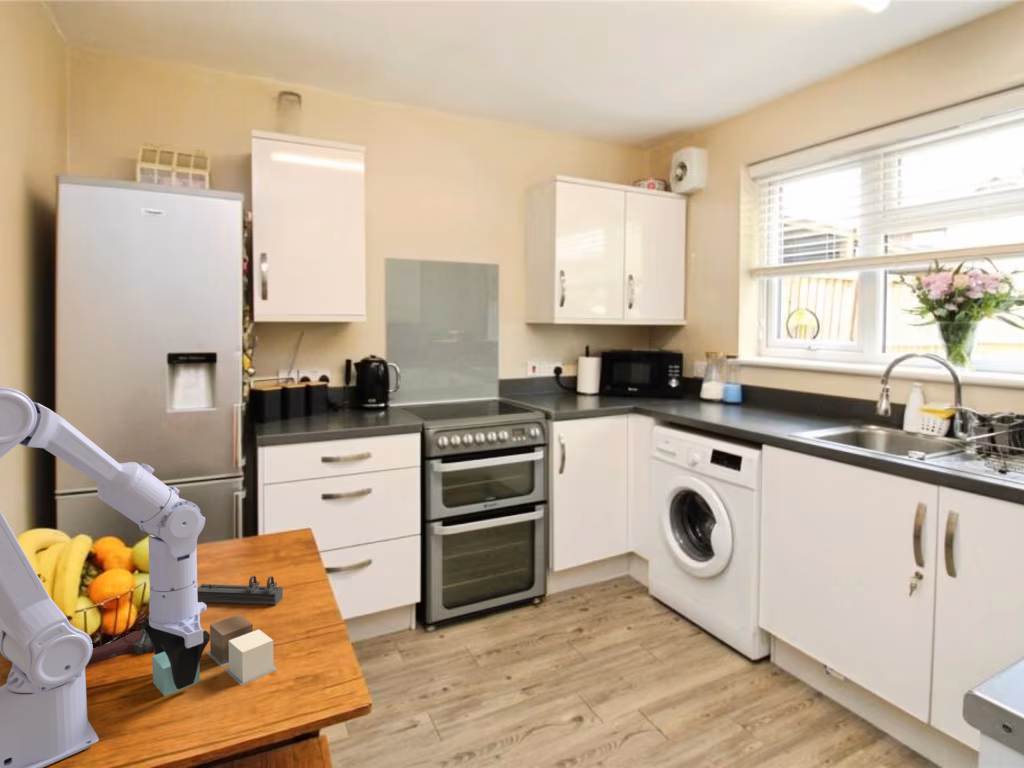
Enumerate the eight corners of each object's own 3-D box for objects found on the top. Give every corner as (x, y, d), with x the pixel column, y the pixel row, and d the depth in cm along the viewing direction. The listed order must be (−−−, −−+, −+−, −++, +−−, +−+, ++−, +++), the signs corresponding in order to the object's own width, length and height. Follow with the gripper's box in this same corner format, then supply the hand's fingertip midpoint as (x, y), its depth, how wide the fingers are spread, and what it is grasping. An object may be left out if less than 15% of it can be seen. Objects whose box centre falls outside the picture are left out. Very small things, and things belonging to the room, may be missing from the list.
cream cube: (242, 682, 82) (242, 652, 82) (229, 669, 85) (228, 640, 85) (273, 669, 85) (273, 640, 85) (259, 657, 88) (258, 629, 88)
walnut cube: (222, 664, 86) (222, 635, 86) (210, 652, 89) (209, 624, 89) (253, 652, 90) (252, 624, 89) (240, 641, 93) (239, 614, 92)
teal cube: (164, 700, 79) (163, 668, 78) (153, 686, 82) (152, 655, 81) (199, 685, 82) (199, 655, 82) (187, 672, 85) (186, 643, 85)
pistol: (94, 626, 98) (175, 612, 103) (70, 674, 85) (165, 655, 90) (93, 612, 98) (175, 599, 103) (69, 657, 84) (165, 639, 90)
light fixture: (204, 599, 108) (203, 570, 108) (283, 602, 108) (282, 573, 107) (194, 607, 105) (193, 578, 105) (275, 610, 105) (275, 580, 104)
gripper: (225, 589, 79) (227, 684, 80) (185, 559, 88) (187, 645, 90) (168, 607, 73) (171, 709, 75) (131, 573, 83) (134, 664, 84)
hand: (176, 675), depth 82 cm, fingers open, 6 cm apart
